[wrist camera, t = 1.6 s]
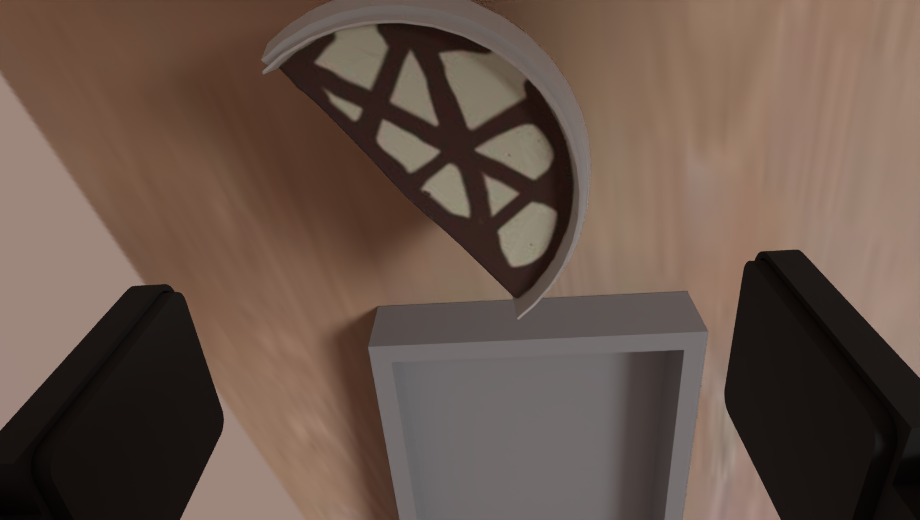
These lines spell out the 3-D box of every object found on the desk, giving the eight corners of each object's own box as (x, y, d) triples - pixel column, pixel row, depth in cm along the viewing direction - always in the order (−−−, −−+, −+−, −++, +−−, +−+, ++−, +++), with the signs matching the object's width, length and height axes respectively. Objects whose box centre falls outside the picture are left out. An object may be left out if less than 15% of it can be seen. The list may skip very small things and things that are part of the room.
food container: (620, 124, 29) (681, 222, 20) (514, 207, 31) (528, 329, 22) (430, -111, 24) (402, -115, 16) (322, 5, 27) (246, 57, 18)
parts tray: (687, 291, 33) (708, 331, 30) (656, 565, 44) (669, 615, 41) (378, 306, 34) (368, 346, 31) (421, 570, 45) (417, 620, 42)
